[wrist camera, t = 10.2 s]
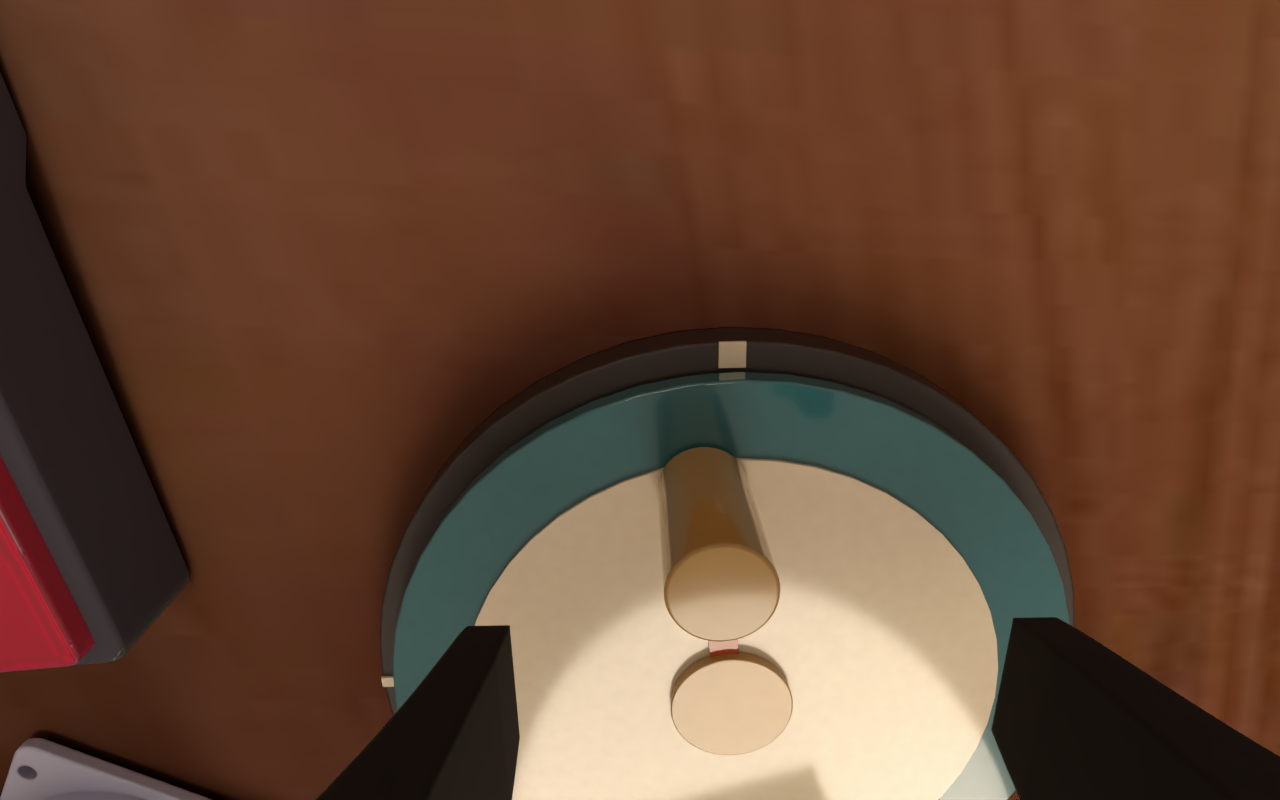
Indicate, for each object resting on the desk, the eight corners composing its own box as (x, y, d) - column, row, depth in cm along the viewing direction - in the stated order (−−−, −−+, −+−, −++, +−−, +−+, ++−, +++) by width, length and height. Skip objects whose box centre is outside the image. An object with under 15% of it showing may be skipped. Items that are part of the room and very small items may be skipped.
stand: (813, 940, 25) (823, 982, 24) (300, 744, 22) (280, 780, 20) (1194, 526, 19) (1231, 553, 18) (577, 183, 16) (573, 189, 15)
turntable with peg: (1042, 873, 22) (1146, 1066, 17) (479, 933, 22) (441, 1131, 18) (1078, 319, 16) (1248, 396, 11) (314, 427, 17) (198, 537, 12)
